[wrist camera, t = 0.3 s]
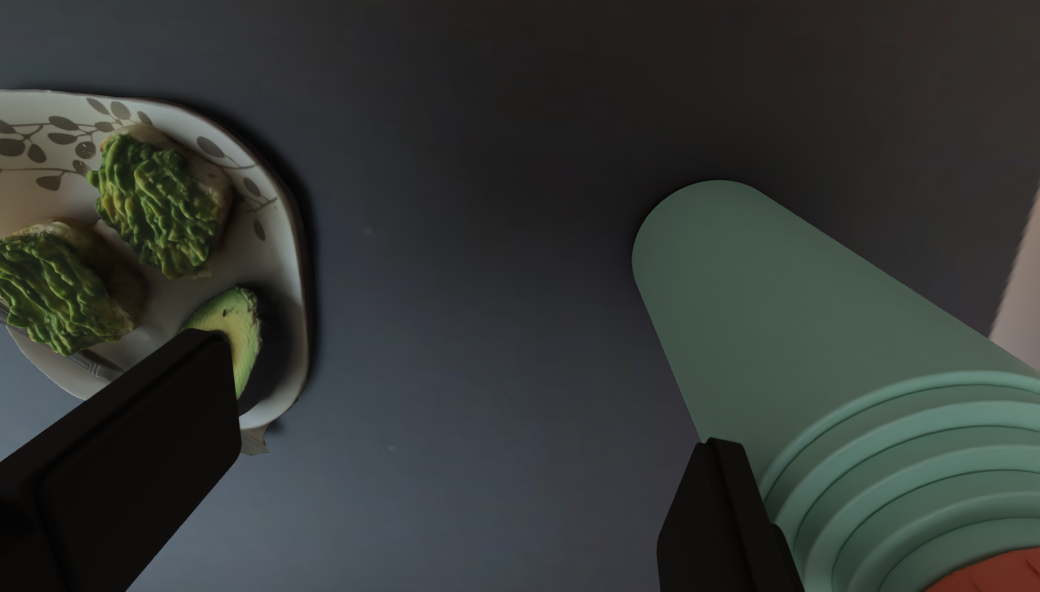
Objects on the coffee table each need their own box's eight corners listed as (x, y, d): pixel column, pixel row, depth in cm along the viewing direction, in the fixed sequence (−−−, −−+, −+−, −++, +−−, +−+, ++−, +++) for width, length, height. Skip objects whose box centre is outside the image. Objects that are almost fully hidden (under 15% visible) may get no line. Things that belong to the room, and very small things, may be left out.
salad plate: (7, 386, 31) (-83, 438, 27) (-112, 53, 23) (-263, 54, 19) (327, 444, 30) (285, 508, 26) (312, 116, 22) (249, 132, 18)
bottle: (652, 168, 21) (1144, 685, 4) (809, 192, 21) (1929, 787, 4) (616, 310, 24) (816, 988, 7) (756, 330, 24) (1302, 1041, 7)
